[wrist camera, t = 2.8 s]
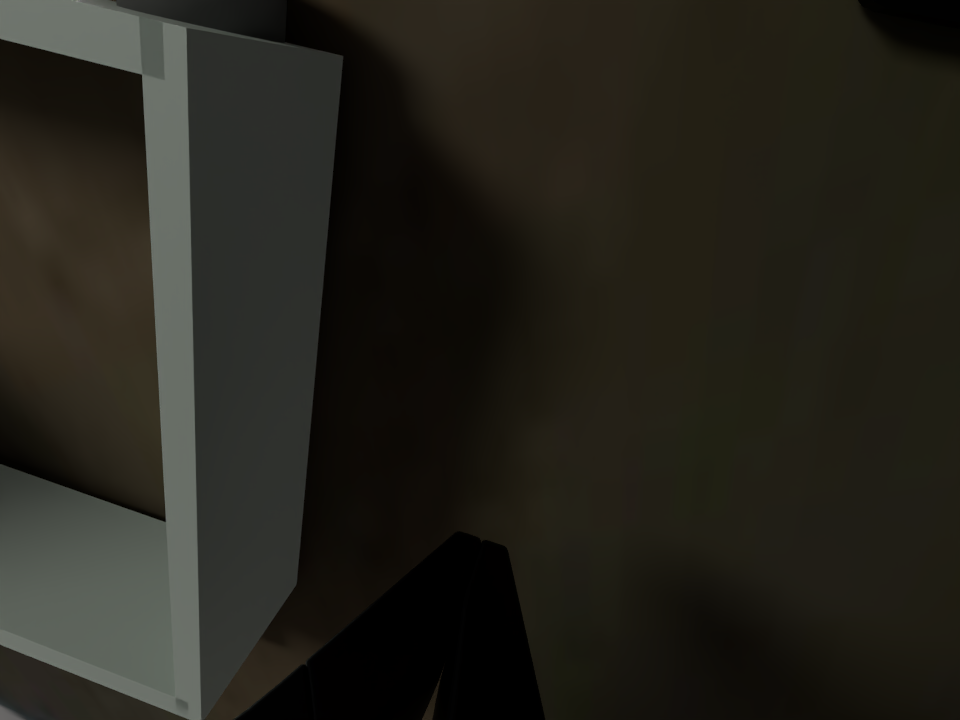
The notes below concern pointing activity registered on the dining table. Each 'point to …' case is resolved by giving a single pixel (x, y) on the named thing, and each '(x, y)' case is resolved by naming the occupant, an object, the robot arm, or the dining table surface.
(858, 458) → the dining table surface
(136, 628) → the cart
